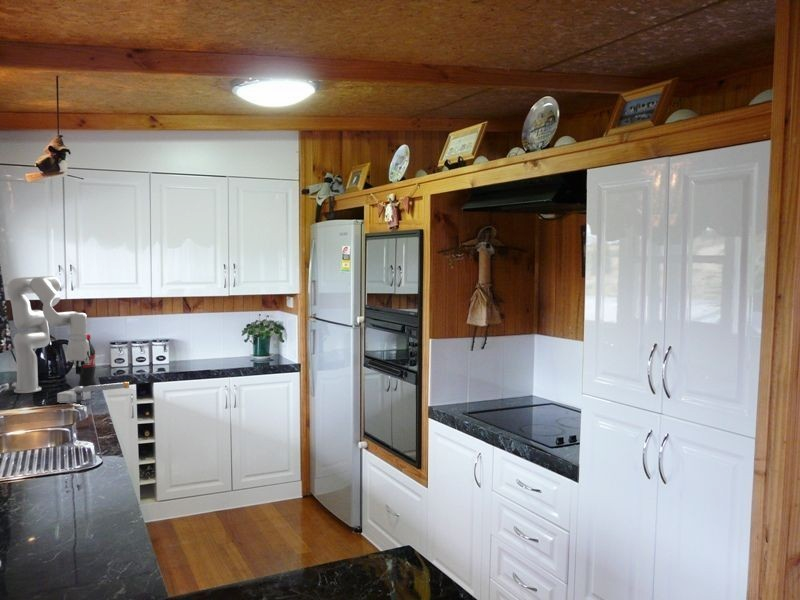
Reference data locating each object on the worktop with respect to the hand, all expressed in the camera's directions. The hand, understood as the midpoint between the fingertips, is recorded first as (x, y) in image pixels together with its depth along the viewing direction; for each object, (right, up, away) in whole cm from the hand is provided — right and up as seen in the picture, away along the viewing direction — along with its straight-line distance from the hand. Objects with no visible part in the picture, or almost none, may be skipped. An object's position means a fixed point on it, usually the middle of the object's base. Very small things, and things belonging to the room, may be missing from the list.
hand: (79, 373), depth 325 cm
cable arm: (+14, -7, -6) cm, 17 cm away
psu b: (0, -13, +1) cm, 13 cm away
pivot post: (+5, -14, -11) cm, 19 cm away
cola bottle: (-6, -11, +22) cm, 25 cm away
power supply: (-2, -14, -7) cm, 15 cm away
